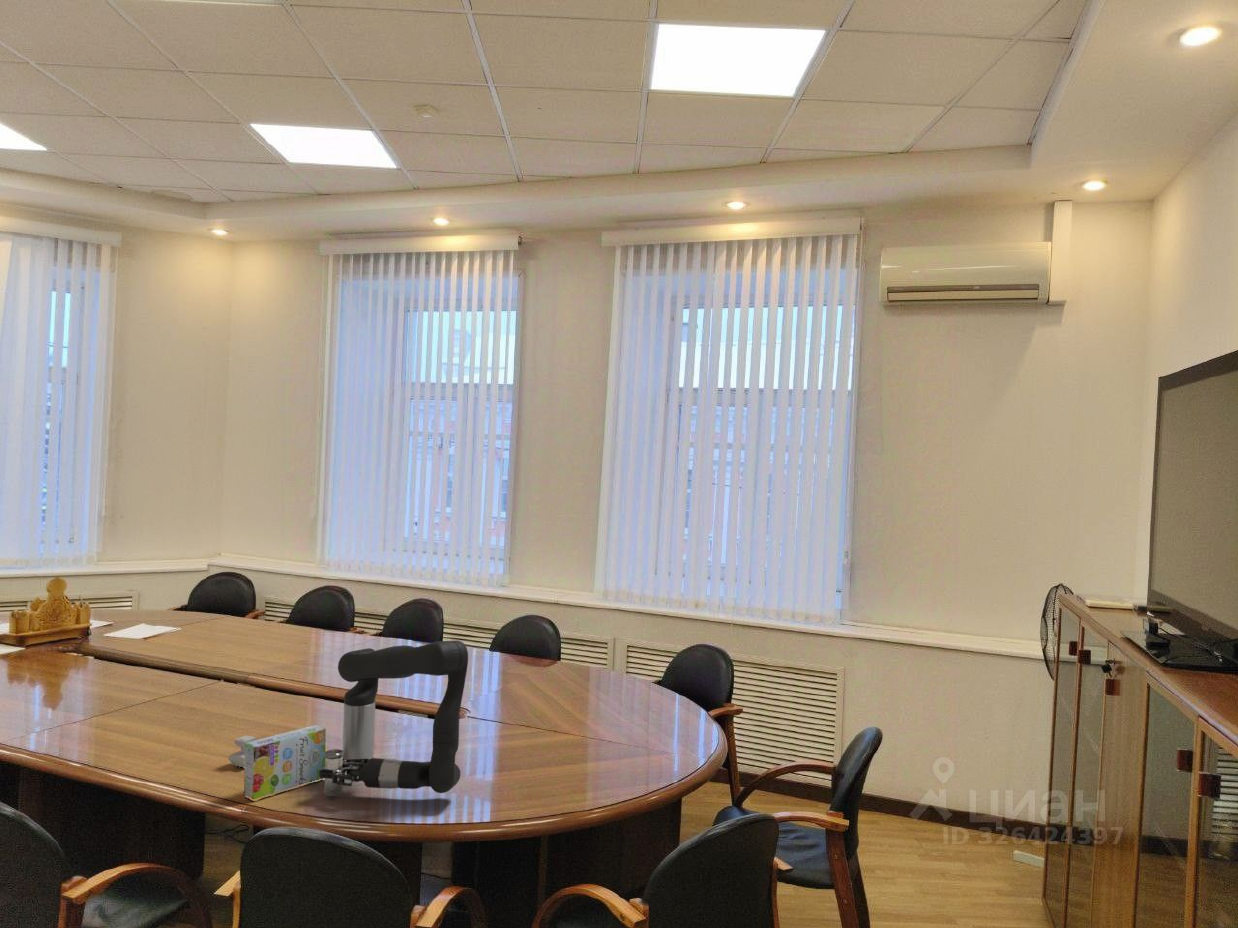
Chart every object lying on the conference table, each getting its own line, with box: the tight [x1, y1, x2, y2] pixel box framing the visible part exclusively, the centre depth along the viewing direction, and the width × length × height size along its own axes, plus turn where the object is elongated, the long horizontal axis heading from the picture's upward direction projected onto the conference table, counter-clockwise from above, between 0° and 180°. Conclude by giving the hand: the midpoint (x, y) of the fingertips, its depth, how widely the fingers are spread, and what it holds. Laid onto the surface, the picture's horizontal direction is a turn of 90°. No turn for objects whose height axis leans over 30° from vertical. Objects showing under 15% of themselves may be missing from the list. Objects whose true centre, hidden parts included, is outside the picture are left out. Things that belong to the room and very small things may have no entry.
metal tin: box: [323, 748, 344, 797], centre depth 223 cm, size 5×5×11 cm
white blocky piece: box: [228, 735, 257, 768], centre depth 243 cm, size 9×7×8 cm
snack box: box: [243, 724, 327, 799], centre depth 228 cm, size 21×6×15 cm, turn 141°
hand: (324, 769), depth 223 cm, fingers closed on metal tin, 4 cm apart
